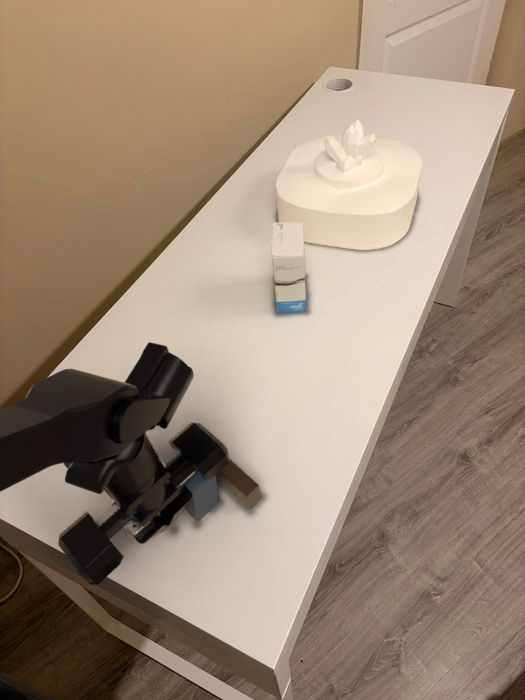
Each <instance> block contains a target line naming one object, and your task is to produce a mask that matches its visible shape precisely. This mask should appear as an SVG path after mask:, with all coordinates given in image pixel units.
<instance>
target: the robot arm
mask: <svg viewBox="0 0 525 700" xmlns="http://www.w3.org/2000/svg"><path fill="white" fill-rule="evenodd" d="M194 377H195V373H194V370H193V368H192V367H191V366H189V365H188V364H187V363H186V362H185V361H184V360H183V359H182V358H180V357H178V356H177V355H175V354H173V353H171V352H170V350H169V348H168V346H167V345H165V344H160V343H156V342H151V341H150V342H147V343H146V345H145V347H144V349H143V350H142V352H141V355H140V357H139V359H138V360H137V362H136V364H135V365H133V367H132V370H131V371H130V373H129V374H128V376H127V377H126V378H125V381H124V382H123V381H120V380H118V379H117V380H116V379H113V378H109V377H106V376H101V375H97V374H93V373H90V372H87V371H86V372H85V371H82V370H78V369H75V368H64V369H62V370H59V371H58V372H56V373H54V374H53V373H52V375H49V376H48V377H45V378H43V379H42V380H39V381H37V382H35V383H34V384H33V385H31V387H30V389H29V390H28V392H27V393H26V395H25V396H24V399H21V400H20V401H18V402H16V403H14V404H12V405H9V406H6V407H2V408H0V493H1V492H3V491H5V490H7V489H8V488H11V487H13V486H15V485H17V484H19V483H21V482H22V481H24V480H26V479H29V478H30V477H33V476H34V475H36V474H39V473H41V472H42V471H44V470H46V469H48V468H51V467H54V466H57V465H60V464H63V465H64V466H65V467H66V469H67V470H66V472H65V476H64V482H65V483H66V484H68V485H71V486H74V487H76V488H79V489H82V490H86V491H88V492H92V493H95V494H98V495H102V493H103V492H104V491H105V493H106V494H107V495H108V496H109V497H110V499H111V500H113V501H114V502H113V503H112V504H111V506H110V508H108V509H107V510H106V511H105V512H104V513H103V514H101V515H100V516H99V517H98V518H96V520H95V519H94V517H93V516H92V515H91V514H90V512H89V511H88V510H87V511H84V512H83V514H82V515H81V516H79V517H78V518H77V519H75V520H74V522H72V523H71V524H70V525H69V526H68V527H66V528H65V529H64V530H63V531H62V532H60V533H59V534H58V543H57V544H58V547H59V548H60V549H61V551H62V552H63V554H64V555H65V556H66V558H67V559H68V561H69V562H70V563H71V565H72V566H73V568H74V569H75V570H76V572H77V573H78V575H80V577H81V578H82V579H83V580H84V581H85V582H87V583H88V584H89V585H92V586H93V585H94V586H95V585H100V584H102V582H103V581H104V580H105V579H106V578H107V577H108V576H109V575H111V574H112V573H113V572H114V571H115V570H116V569H117V568H118V567H119V566H120V565H121V563H122V561H123V559H124V557H125V556H124V555H123V553H122V552H121V551H120V550H119V549H118V548H117V546H116V545H115V544H114V542H112V540H111V539H112V538H113V537H114V536H116V534H118V533H119V532H120V531H121V530H122V529H123V528H124V529H125V530H126V531H127V532H129V533H130V534H131V536H132V537H133V538H134V539H135V540H136V542H137V543H138V544H139V545H144V544H146V543H148V541H150V540H151V539H152V538H154V537H156V536H158V535H159V534H161V533H163V532H165V531H167V530H169V529H170V528H171V527H172V526H173V525H174V523H175V522H176V520H177V518H178V517H179V516H180V515H181V513H182V512H183V510H185V506H186V505H187V504H188V503H189V502H190V501H191V500H192V497H193V495H192V493H191V492H190V491H189V490H188V489H187V488H186V487H185V485H184V484H183V483H184V482H185V481H187V480H188V479H189V478H190V477H191V476H192V475H193V474H194V473H195V472H196V469H197V470H198V471H199V472H200V473H201V475H202V477H203V478H204V479H205V480H207V479H211V478H213V477H214V476H215V475H216V474H217V473H218V472H219V471H220V470H221V469H222V468H224V467H225V466H226V465H227V464H228V463H229V459H230V453H229V450H228V449H227V446H226V445H225V444H224V443H223V442H222V441H221V440H220V439H219V438H218V437H217V436H215V435H214V434H213V433H212V432H211V431H209V430H208V428H206V427H205V426H204V425H203V424H202V423H200V422H193V421H191V422H189V423H188V424H187V425H186V426H185V427H183V428H182V429H181V430H180V431H179V432H177V433H176V434H175V435H174V436H173V437H172V438H170V440H168V443H169V446H170V447H171V448H173V450H176V451H177V452H178V453H181V454H182V455H180V456H179V457H178V458H177V459H176V460H175V461H174V462H173V463H171V464H170V465H169V466H168V467H167V465H166V462H164V460H163V459H162V458H160V456H159V455H158V453H157V451H156V449H155V447H154V446H153V443H152V442H151V440H150V439H149V436H148V435H147V432H148V431H152V430H154V429H156V427H159V428H161V429H164V430H166V429H167V428H168V426H169V425H170V423H171V421H172V419H173V417H174V415H175V413H176V411H177V410H178V408H179V406H180V404H181V402H182V400H183V399H184V397H185V394H186V393H187V391H188V389H189V387H190V386H191V383H192V382H193V380H194ZM192 465H193V466H194V467H195V468H196V469H195V468H194V467H193V466H192ZM184 472H185V473H184ZM0 700H59V699H58V698H57V697H54V696H52V695H50V694H48V693H47V692H44V691H42V690H40V689H38V688H36V687H34V686H32V685H30V684H28V683H26V682H23V681H22V680H20V679H17V678H16V677H13V676H11V675H10V674H7V673H5V672H0Z"/></svg>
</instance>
